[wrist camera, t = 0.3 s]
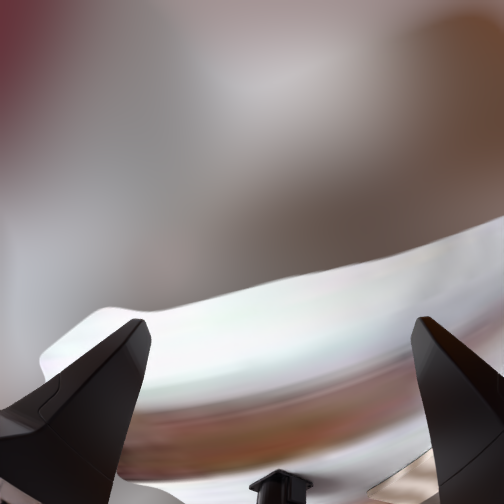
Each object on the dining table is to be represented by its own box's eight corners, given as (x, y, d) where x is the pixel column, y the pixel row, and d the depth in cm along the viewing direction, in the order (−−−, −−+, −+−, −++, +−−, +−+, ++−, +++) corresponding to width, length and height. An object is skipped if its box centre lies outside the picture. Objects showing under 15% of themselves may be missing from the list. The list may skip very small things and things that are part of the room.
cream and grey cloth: (434, 506, 33) (435, 510, 32) (366, 491, 32) (367, 497, 31) (501, 456, 29) (504, 460, 28) (454, 429, 28) (457, 435, 27)
